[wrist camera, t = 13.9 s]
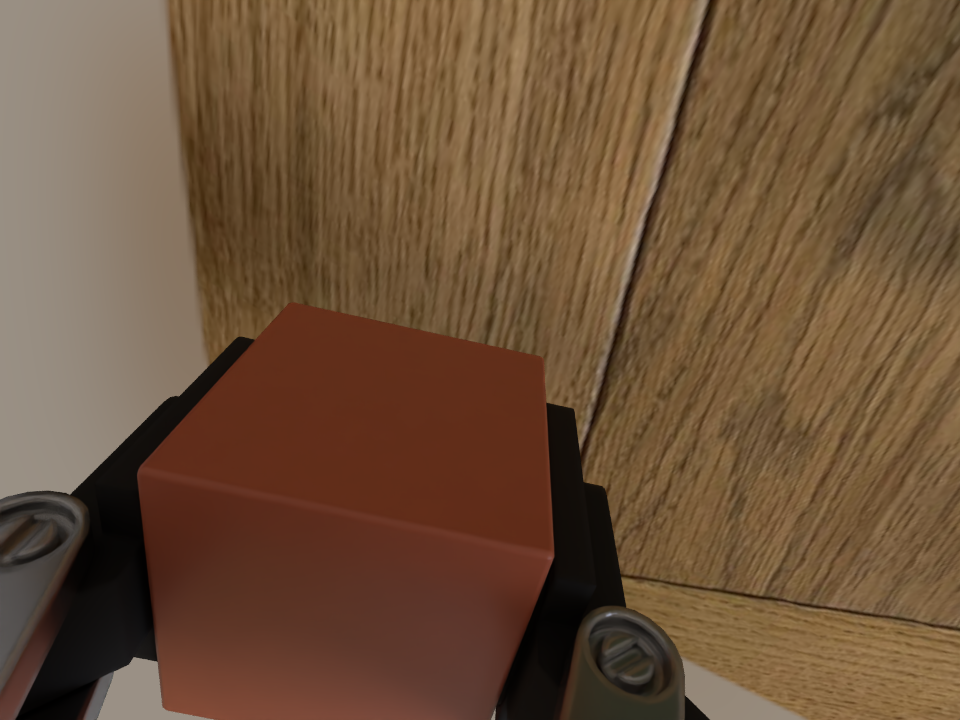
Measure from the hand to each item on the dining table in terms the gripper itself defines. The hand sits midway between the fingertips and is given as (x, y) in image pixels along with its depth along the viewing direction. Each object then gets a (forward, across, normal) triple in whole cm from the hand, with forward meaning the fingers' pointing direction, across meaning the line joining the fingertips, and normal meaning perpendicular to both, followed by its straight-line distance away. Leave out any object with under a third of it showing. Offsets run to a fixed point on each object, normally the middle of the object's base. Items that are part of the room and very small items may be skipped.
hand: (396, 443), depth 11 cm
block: (0, 0, 0) cm, 0 cm away
